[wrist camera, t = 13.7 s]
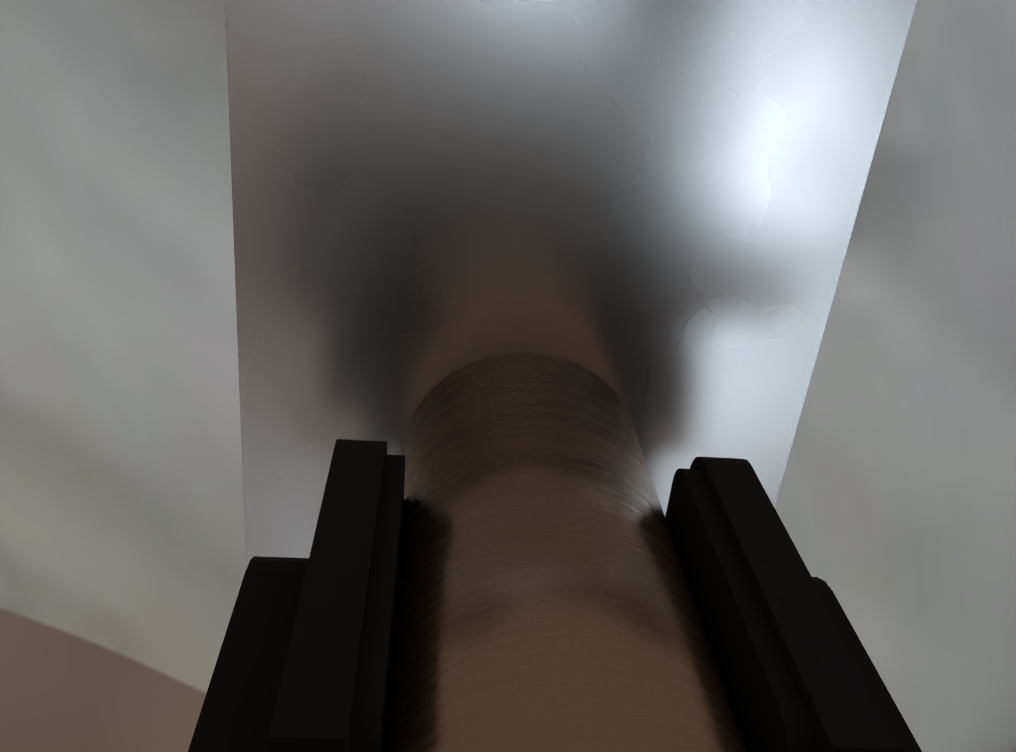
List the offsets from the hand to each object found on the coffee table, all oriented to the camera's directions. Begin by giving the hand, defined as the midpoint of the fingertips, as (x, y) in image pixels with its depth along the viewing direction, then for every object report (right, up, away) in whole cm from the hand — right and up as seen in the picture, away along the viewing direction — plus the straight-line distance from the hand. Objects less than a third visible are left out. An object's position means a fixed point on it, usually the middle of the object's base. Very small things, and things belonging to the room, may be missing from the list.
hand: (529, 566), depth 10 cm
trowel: (0, +4, +1) cm, 4 cm away
